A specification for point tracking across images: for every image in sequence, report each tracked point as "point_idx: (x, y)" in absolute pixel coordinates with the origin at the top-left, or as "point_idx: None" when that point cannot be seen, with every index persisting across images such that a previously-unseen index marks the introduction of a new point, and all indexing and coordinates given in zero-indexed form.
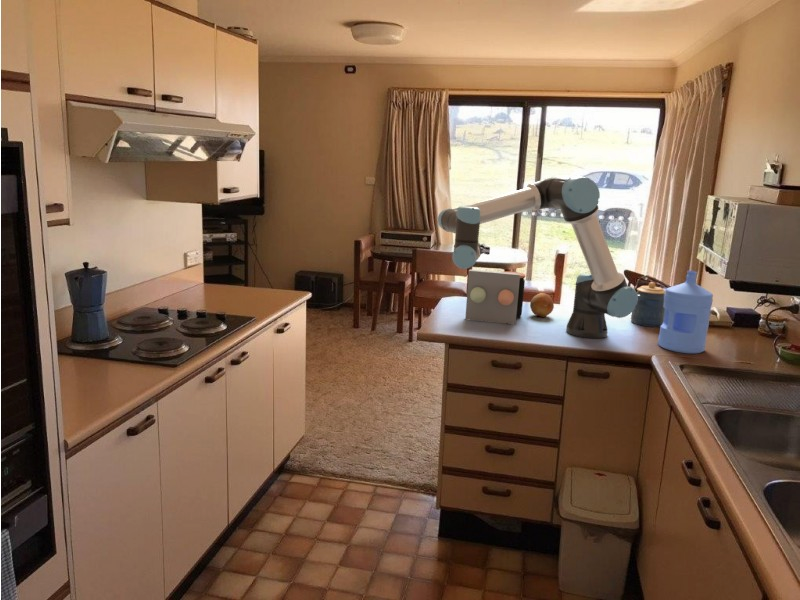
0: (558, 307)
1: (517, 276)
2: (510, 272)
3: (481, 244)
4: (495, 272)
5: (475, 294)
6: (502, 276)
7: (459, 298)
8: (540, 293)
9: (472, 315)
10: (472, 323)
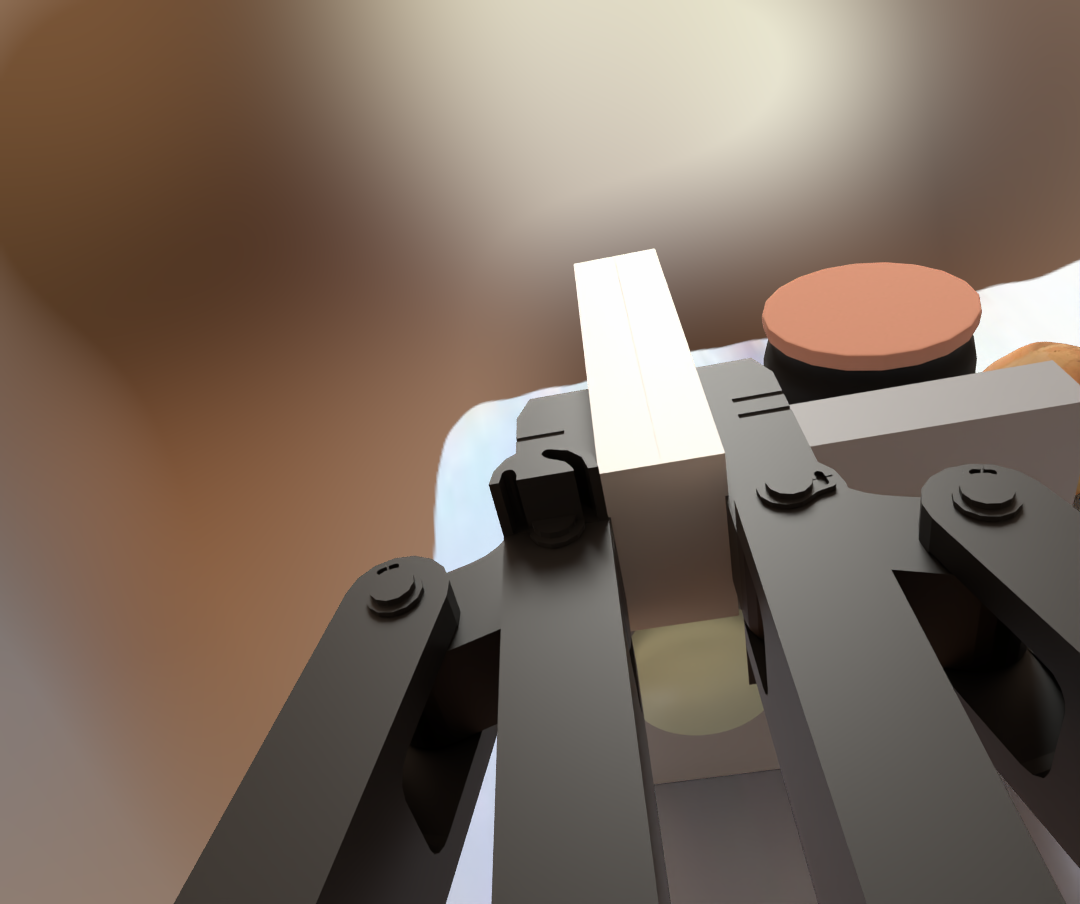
0: (1003, 319)
1: (1067, 418)
2: (833, 286)
3: (954, 549)
4: (820, 429)
5: (682, 688)
6: (906, 456)
7: (501, 411)
8: (1041, 356)
9: (674, 760)
10: (711, 884)
